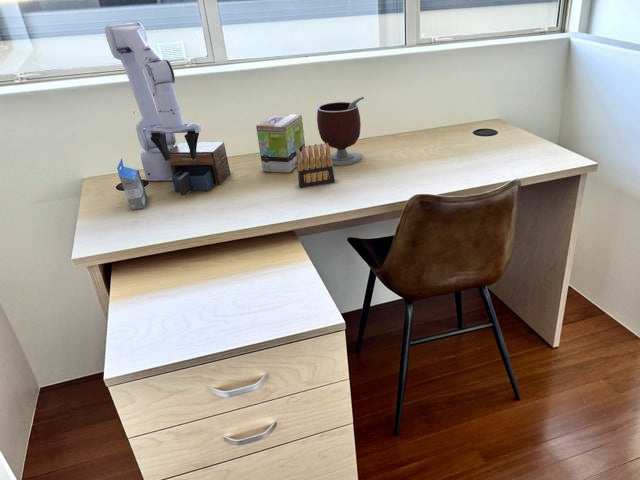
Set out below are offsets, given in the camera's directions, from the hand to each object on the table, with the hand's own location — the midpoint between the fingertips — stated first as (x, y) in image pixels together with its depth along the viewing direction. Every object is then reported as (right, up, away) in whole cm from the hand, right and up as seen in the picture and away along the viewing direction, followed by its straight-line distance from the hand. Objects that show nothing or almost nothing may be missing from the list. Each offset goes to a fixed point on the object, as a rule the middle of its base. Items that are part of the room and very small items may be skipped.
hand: (181, 159), depth 158 cm
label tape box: (-13, -13, +2) cm, 18 cm away
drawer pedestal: (0, -2, +17) cm, 17 cm away
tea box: (+24, +4, +26) cm, 36 cm away
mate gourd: (+44, +7, +29) cm, 53 cm away
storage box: (0, -7, +10) cm, 12 cm away
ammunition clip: (+37, -5, +10) cm, 39 cm away
